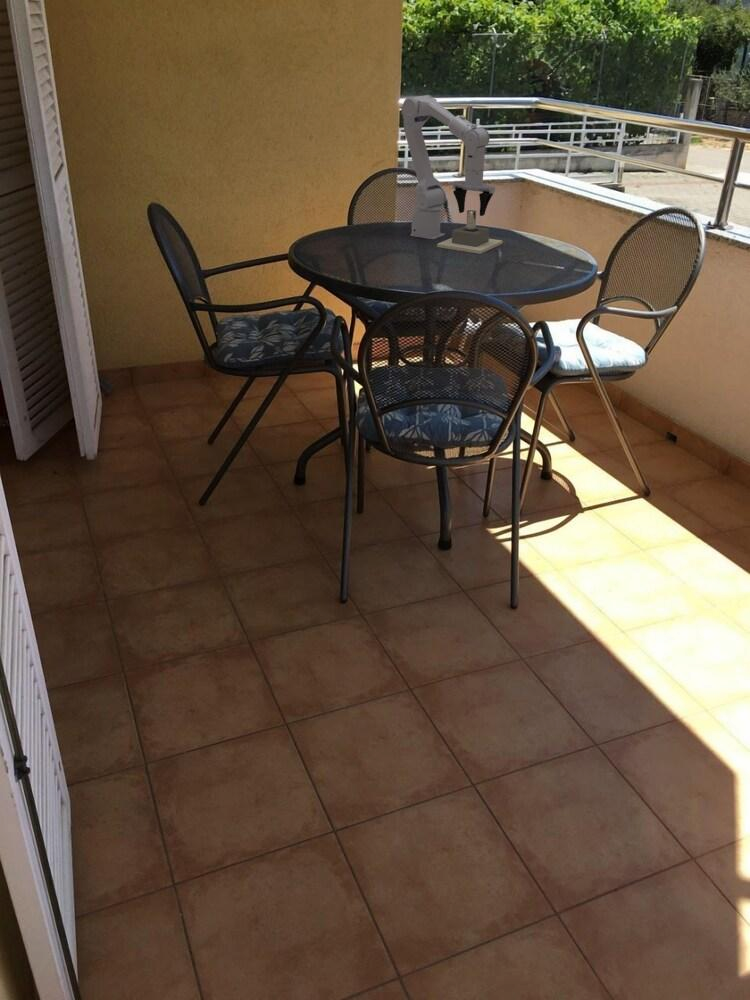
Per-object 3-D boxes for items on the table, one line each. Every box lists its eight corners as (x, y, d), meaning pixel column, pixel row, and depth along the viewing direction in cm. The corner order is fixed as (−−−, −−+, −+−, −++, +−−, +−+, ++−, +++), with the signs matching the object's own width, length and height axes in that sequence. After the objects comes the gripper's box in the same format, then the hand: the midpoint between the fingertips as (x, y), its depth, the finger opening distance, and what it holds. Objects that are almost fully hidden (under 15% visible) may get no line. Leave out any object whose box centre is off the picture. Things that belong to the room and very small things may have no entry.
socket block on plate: (437, 246, 273) (437, 231, 271) (460, 237, 285) (461, 222, 282) (480, 254, 266) (481, 238, 263) (502, 243, 277) (503, 228, 275)
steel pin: (463, 242, 274) (465, 211, 269) (468, 240, 276) (470, 209, 271) (471, 243, 273) (473, 212, 268) (476, 241, 275) (478, 210, 270)
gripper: (448, 169, 265) (446, 213, 272) (489, 174, 258) (485, 219, 265) (459, 166, 270) (456, 209, 277) (499, 170, 263) (495, 215, 270)
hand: (471, 213), depth 271 cm, fingers open, 7 cm apart
